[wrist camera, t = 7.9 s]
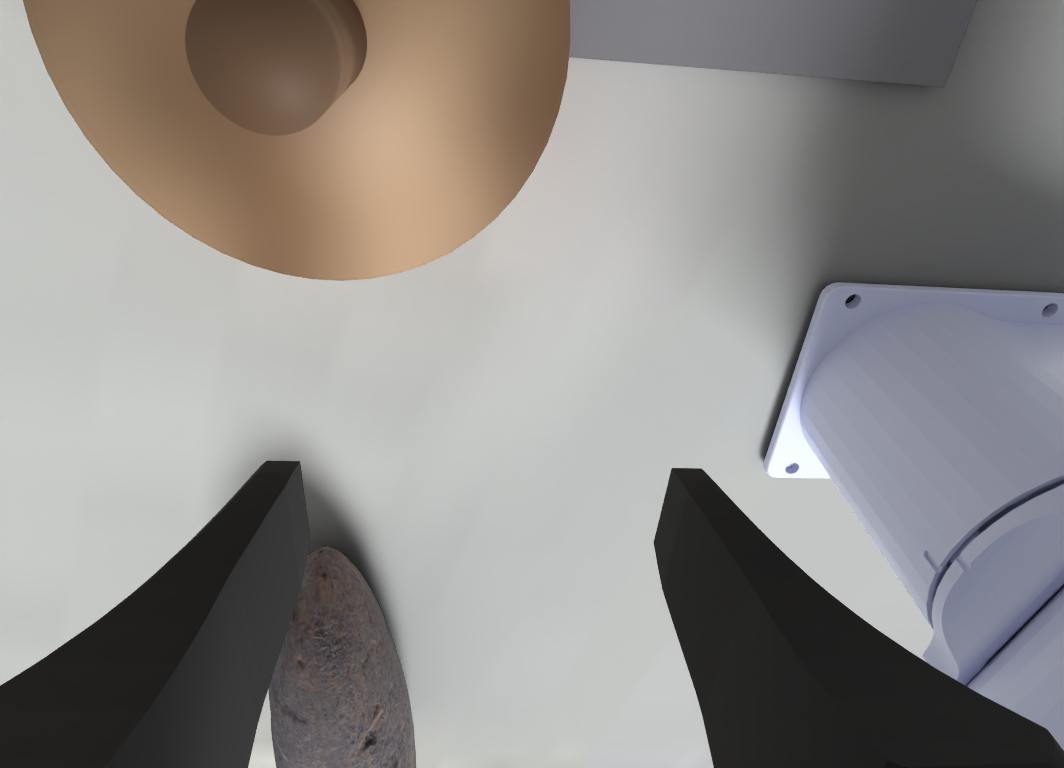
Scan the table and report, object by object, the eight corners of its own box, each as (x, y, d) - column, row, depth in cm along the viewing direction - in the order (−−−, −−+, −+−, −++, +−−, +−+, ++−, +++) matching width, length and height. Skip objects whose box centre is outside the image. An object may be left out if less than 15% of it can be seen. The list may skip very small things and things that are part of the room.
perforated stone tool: (265, 510, 26) (204, 671, 20) (403, 506, 26) (384, 664, 21) (318, 732, 34) (285, 894, 28) (423, 727, 35) (413, 885, 29)
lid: (615, -244, 13) (671, -324, 9) (526, 290, 18) (539, 375, 15) (-32, -394, 11) (-283, -565, 7) (91, 240, 17) (-17, 320, 13)
